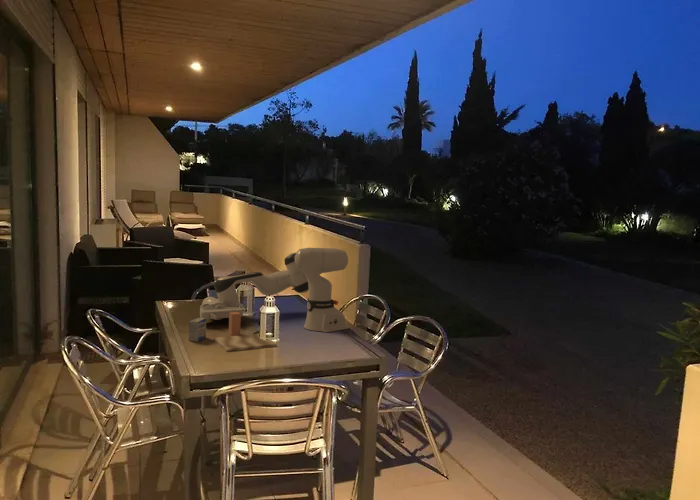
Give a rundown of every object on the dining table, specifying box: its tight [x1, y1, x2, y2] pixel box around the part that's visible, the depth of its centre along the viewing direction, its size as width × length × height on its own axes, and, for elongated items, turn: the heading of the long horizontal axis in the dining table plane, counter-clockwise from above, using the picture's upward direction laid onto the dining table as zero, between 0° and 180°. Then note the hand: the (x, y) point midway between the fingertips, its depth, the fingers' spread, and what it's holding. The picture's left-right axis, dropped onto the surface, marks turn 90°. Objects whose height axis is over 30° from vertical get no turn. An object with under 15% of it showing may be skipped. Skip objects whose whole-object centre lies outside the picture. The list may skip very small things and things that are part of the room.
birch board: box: [213, 333, 278, 353], centre depth 243 cm, size 22×18×1 cm
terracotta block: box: [228, 312, 242, 336], centre depth 254 cm, size 4×4×10 cm
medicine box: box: [188, 317, 207, 342], centre depth 245 cm, size 8×4×9 cm, turn 168°
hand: (226, 316), depth 265 cm, fingers open, 8 cm apart
